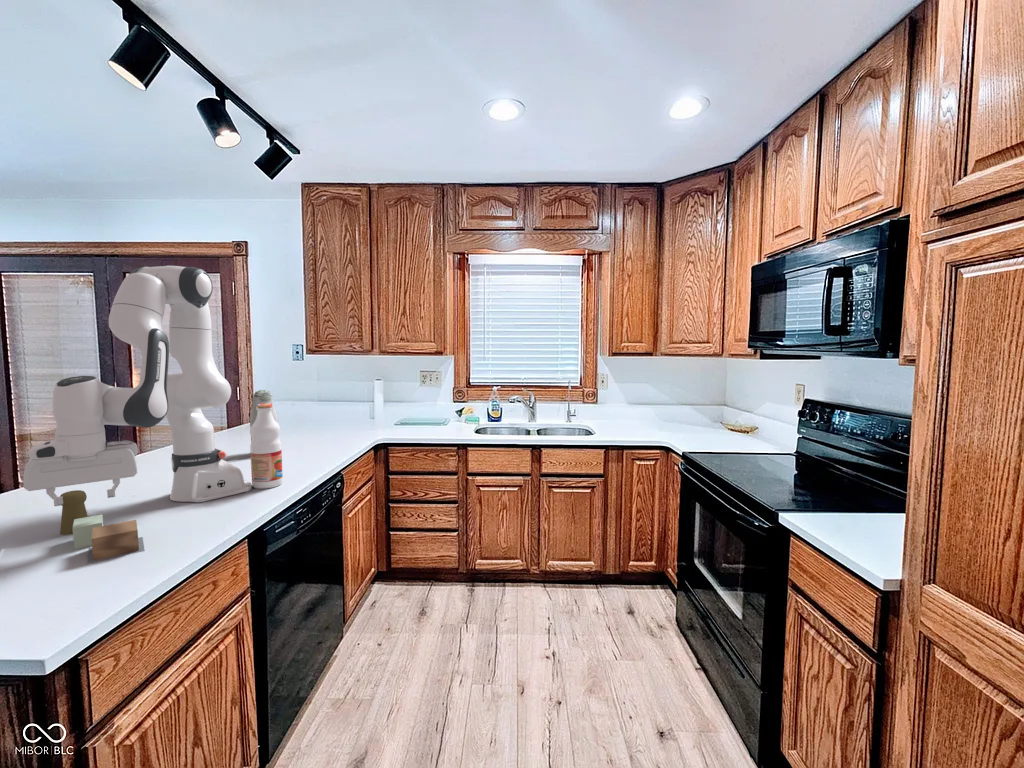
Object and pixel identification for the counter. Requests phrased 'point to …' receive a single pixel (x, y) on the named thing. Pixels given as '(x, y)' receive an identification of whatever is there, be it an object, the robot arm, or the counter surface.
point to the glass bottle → (261, 398)
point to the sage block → (85, 530)
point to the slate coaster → (141, 548)
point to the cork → (72, 510)
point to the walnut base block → (114, 539)
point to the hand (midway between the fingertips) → (85, 501)
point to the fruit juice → (265, 449)
